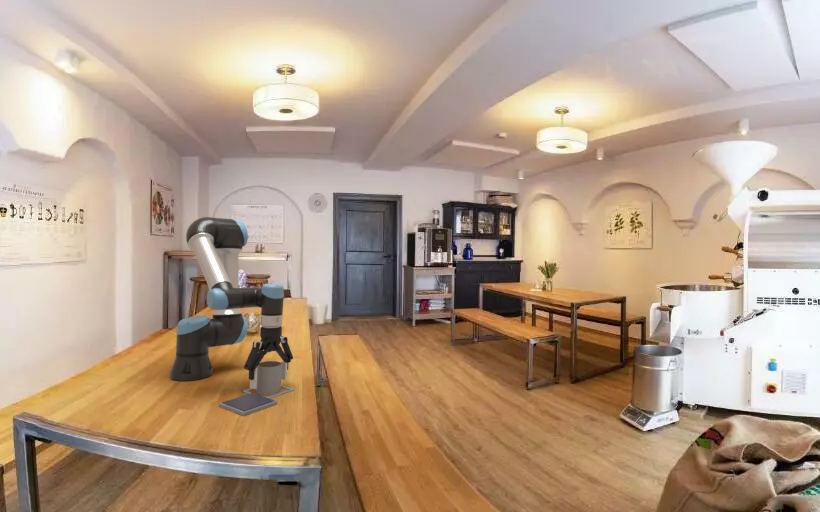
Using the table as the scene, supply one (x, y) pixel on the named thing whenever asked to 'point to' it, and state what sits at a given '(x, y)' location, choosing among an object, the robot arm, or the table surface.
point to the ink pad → (247, 404)
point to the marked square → (273, 395)
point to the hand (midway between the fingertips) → (268, 383)
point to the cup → (268, 377)
